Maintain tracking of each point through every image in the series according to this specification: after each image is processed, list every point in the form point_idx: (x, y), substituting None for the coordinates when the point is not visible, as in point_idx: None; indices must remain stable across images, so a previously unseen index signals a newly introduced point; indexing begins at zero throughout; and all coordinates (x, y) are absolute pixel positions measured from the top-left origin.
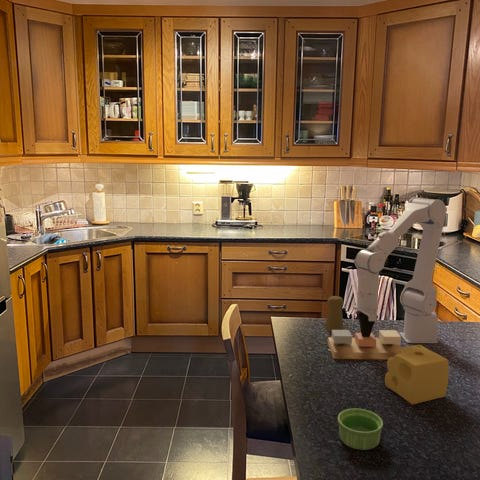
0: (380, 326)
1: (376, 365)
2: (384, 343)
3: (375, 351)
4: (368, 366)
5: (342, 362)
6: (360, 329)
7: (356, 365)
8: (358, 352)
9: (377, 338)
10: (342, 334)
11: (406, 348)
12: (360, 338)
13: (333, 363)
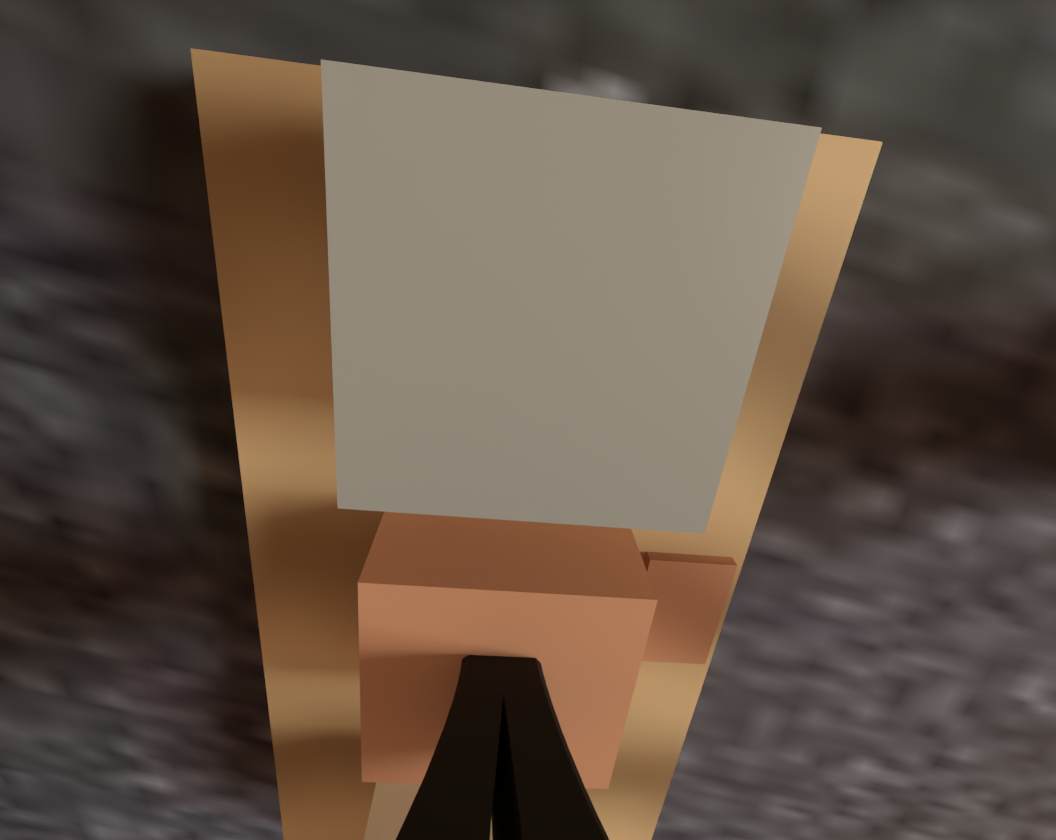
0: (1028, 795)
1: (134, 551)
2: (375, 795)
3: (294, 644)
4: (87, 470)
5: (141, 181)
6: (554, 737)
7: (82, 346)
8: (240, 456)
9: (663, 742)
10: (450, 332)
11: None
12: (396, 613)
13: (73, 14)
